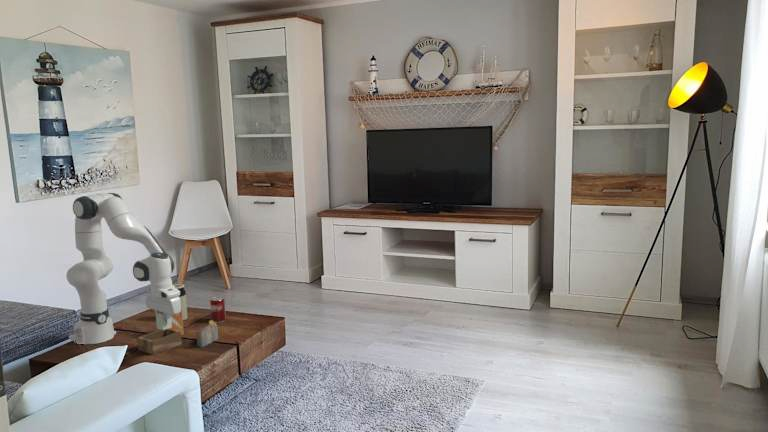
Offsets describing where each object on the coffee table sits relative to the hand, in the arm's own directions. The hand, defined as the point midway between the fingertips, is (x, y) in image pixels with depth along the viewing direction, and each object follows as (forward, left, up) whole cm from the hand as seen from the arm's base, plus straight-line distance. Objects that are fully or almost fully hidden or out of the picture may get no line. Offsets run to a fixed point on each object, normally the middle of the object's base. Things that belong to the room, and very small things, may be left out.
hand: (163, 320), depth 256 cm
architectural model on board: (+3, +20, -17) cm, 26 cm away
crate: (-11, +5, -16) cm, 20 cm away
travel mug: (-37, +34, -16) cm, 53 cm away
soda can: (-17, +43, -16) cm, 49 cm away
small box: (-20, +18, -16) cm, 31 cm away
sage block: (0, 0, -3) cm, 3 cm away
